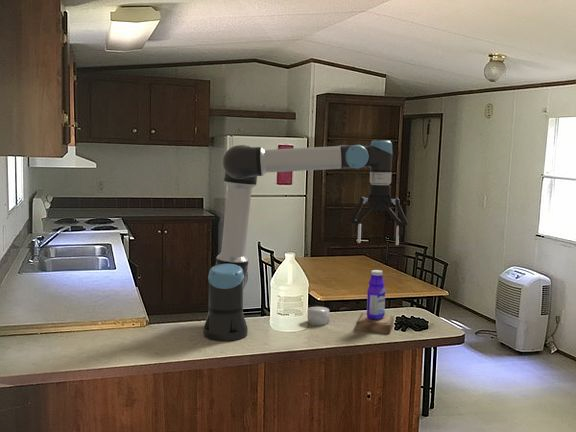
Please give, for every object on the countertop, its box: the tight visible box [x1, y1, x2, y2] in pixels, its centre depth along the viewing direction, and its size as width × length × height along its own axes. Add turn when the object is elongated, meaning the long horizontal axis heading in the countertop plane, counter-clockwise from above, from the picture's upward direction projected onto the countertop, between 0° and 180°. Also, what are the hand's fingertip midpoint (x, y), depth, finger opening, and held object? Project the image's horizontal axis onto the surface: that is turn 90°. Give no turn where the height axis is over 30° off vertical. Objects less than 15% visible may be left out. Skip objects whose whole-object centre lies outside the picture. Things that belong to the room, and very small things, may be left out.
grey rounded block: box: [307, 306, 330, 326], centre depth 223 cm, size 8×8×5 cm
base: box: [355, 312, 395, 334], centre depth 219 cm, size 12×12×3 cm
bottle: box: [366, 269, 386, 320], centre depth 218 cm, size 7×6×17 cm
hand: (377, 243), depth 215 cm, fingers open, 13 cm apart
